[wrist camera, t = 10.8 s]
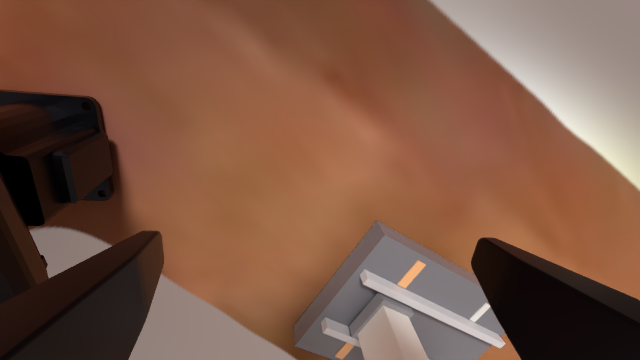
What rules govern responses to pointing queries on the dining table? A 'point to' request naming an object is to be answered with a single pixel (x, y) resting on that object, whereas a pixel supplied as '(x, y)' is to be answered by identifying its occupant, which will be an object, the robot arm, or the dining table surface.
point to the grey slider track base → (407, 287)
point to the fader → (387, 331)
